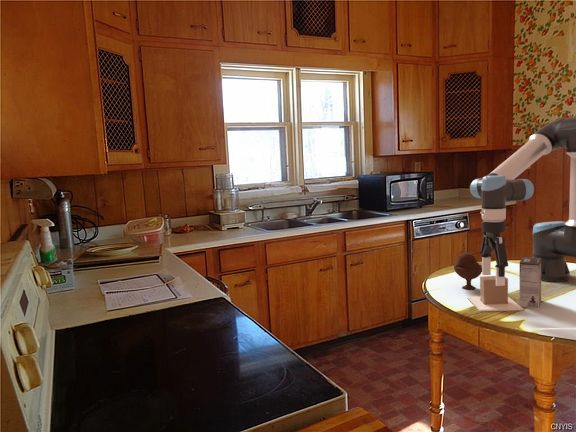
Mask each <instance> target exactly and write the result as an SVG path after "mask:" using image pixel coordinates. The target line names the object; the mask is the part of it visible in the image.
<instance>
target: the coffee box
mask: <svg viewBox="0 0 576 432" xmlns="http://www.w3.org/2000/svg"><path fill="white" fill-rule="evenodd" d="M541 266H542V258H533V257H532V256H531V257H529V256H523V257H521V258H520V260H519V306H521V307H522V308H529V309H531V308H532V309H537V310H538V309H541V305H542V304H541V303H542V280H541Z"/></svg>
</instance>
